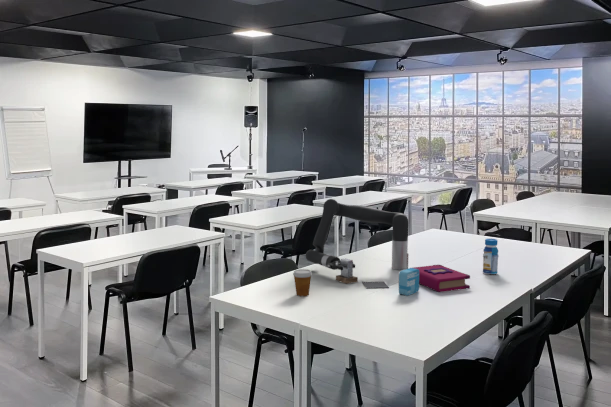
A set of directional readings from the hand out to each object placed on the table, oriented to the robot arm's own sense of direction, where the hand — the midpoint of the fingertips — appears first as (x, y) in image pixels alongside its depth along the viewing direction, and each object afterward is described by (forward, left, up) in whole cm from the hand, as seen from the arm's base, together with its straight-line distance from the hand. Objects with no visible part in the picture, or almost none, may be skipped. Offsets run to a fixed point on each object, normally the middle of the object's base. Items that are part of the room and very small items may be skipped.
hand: (348, 267), depth 304 cm
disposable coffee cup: (+27, +23, -8) cm, 36 cm away
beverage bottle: (-84, -10, -8) cm, 85 cm away
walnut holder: (+1, -1, -8) cm, 8 cm away
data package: (-27, +25, -8) cm, 38 cm away
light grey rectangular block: (+1, -1, -8) cm, 8 cm away
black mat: (-13, +9, -8) cm, 18 cm away
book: (-48, +8, -9) cm, 49 cm away
